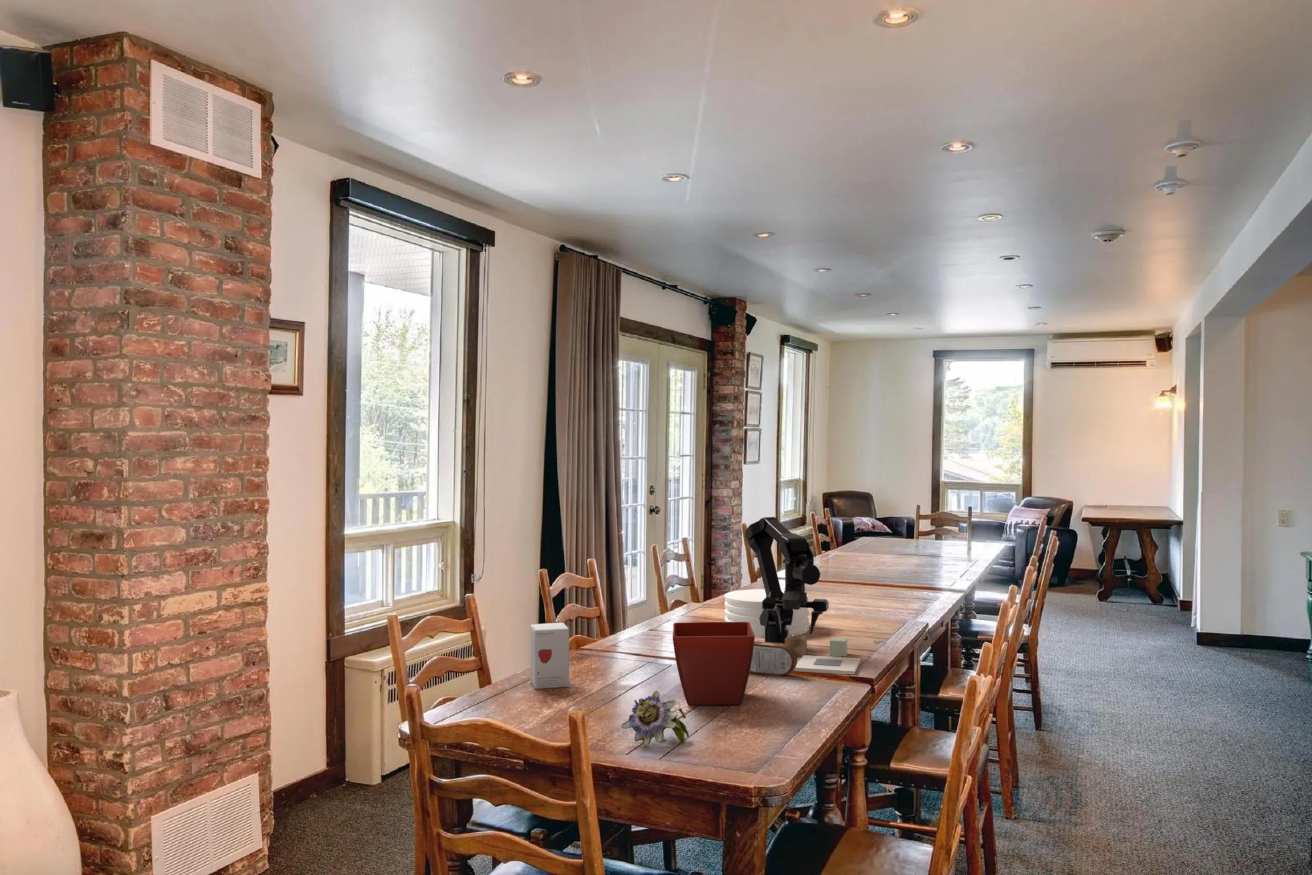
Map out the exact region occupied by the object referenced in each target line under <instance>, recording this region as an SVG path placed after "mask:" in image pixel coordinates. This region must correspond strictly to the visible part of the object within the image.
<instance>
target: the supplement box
mask: <svg viewBox="0 0 1312 875" xmlns="http://www.w3.org/2000/svg"><path fill="white" fill-rule="evenodd" d="M529 630H530V631H529V634H530V635H529V638H530V641H529V642H530V644H529V649H530V650H529V652H530V653H529V681H530V683H531V685H532V686H533V688H534V689H535V690H539V689H555V688H569V687H570V628H569V627H568V626H567V625H566V624H565V623H564V622H553V623H552V622H551V623H533V624H530V625H529Z"/></svg>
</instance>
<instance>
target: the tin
mask: <svg viewBox="0 0 1312 875" xmlns="http://www.w3.org/2000/svg"><path fill="white" fill-rule="evenodd" d="M797 663H798V657H797V656H796V653H795V652H794V650H793V649H792V648H791V647H790V646H788V645H786V644H782V643H772V642H765V641H760V640H754V649H753V656H752V662H751V668H750V673H752V674H758V675H768V676H775V677H785V676H788V675H789V674H790V673H792V672H793V671H794V669H795V667H796V665H797Z"/></svg>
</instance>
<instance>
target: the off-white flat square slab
mask: <svg viewBox="0 0 1312 875" xmlns="http://www.w3.org/2000/svg"><path fill="white" fill-rule="evenodd" d="M860 664H861V658H858V657H847V656H846V657H841V656H830V655H829V656H825V655H824V656H823V655H810V654H806V655H803V656H802V657H800V659H799V660H798V661H797V665H796V667H795V669H794V670H793V671H794V672H802V673H818V674H830V675H831V674H834V675H847V674H854V675H853V676H856V673H857V671H856V670H858V669H859V667H860ZM855 672H856V673H855Z"/></svg>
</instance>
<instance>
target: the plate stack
mask: <svg viewBox="0 0 1312 875" xmlns="http://www.w3.org/2000/svg"><path fill="white" fill-rule="evenodd" d="M781 591H782V592H783V593H784V591H785V589H781ZM765 598H766V592H765V588H755V589H754V588H753V589H741V590H740V589H739V590H733V591H728V592H727V593H724V600H725V601H724V608H725V609H724V615H725V617H724V622H749V623H750V625H751V628H752V630H753V633H754V635H755V636H756V638H765V626H763V625H760V619H759V618H760V616H761V613H762V611H763V609H762V601H763V600H764V599H765ZM809 598H810V597H809V594H807V601H809ZM808 616H810V615H809V608H801V607H800V609H798V610H794V609H793V618H792V624H791V625H787V629H788V630H789V635H790V636H792V635H794V636H800V635H803V633H804V634H805V633H808V632H809V631H810V626H809V624H810V623H809V622H810V619H809V617H808ZM808 630H809V631H808ZM807 631H808V632H807ZM799 634H800V635H799Z"/></svg>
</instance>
